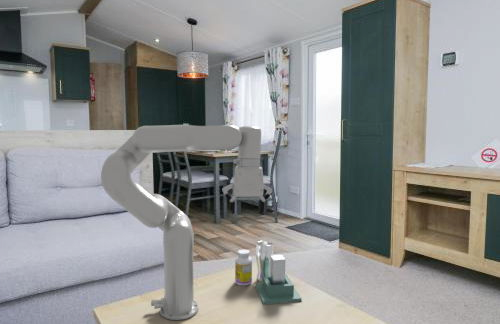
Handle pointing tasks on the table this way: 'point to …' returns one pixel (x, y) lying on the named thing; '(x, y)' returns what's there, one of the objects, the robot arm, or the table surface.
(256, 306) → the table surface
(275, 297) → the well
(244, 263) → the supplement bottle
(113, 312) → the table surface
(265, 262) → the beer glass
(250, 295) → the table surface
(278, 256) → the silver square block
